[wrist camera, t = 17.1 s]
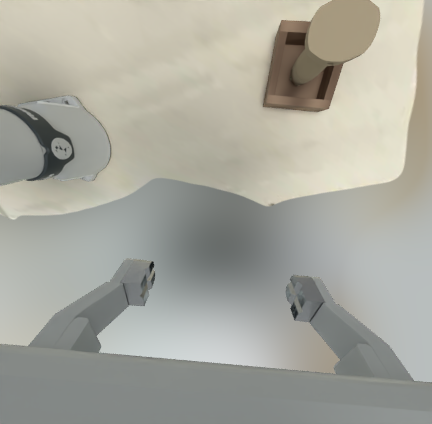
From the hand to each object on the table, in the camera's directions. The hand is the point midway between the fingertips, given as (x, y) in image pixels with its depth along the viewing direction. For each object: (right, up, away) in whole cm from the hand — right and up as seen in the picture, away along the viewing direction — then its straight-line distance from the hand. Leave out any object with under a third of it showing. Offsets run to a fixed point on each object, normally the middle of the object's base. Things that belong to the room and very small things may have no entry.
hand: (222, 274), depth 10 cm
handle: (+14, +28, +21) cm, 38 cm away
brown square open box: (+14, +28, +21) cm, 38 cm away
